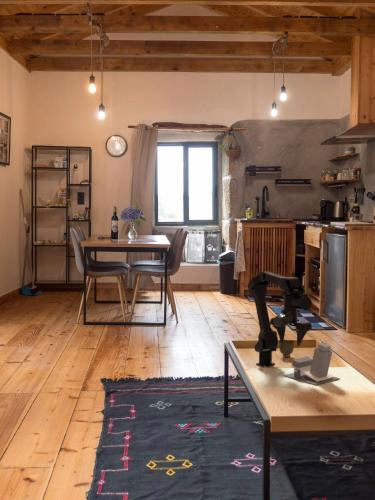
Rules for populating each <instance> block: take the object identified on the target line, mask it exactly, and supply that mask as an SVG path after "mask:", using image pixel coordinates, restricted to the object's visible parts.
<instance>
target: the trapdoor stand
mask: <svg viewBox="0 0 375 500" xmlns="http://www.w3.org/2000/svg"><path fill="white" fill-rule="evenodd" d="M283 377H285V378H288V379H292V380H295V381H299V382H303V383H305V384H310V385H313V386H320V385H323V384H327V383H331V382H335V381H338V380H340V379H341V378H339V377H336V376H333V378H330V379H326V380H323V381H319V382H317V381H315V380H314V379H312V378H310V377H308V376H307V375H305V374H303V373H301V372H300V369H297V368H293V372H292V373H287V374H283Z"/></svg>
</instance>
